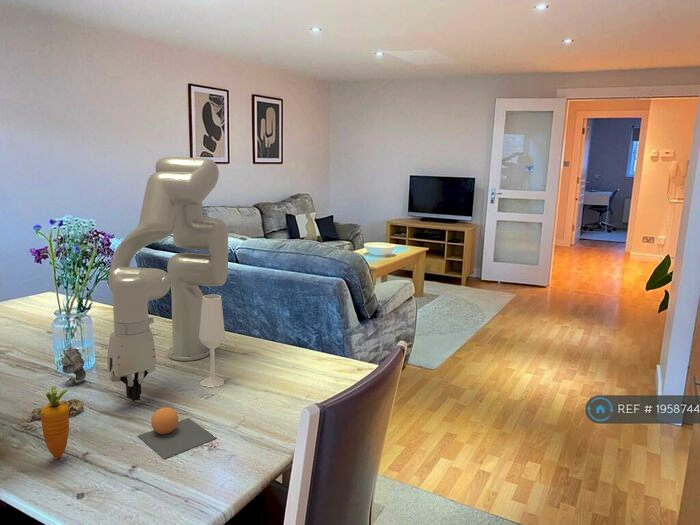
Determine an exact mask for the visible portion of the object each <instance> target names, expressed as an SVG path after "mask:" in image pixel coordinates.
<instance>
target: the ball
mask: <svg viewBox="0 0 700 525" xmlns="http://www.w3.org/2000/svg"><path fill="white" fill-rule="evenodd" d="M178 421H179V416H178V413H177V411H176V410H175V409H173V408H170V407H161V408H159V409H157V410H156V411H155V412H154V413H153V414H152V417H151V421H150V424H151V427H152V429H153V430H155V431H156V432H157V433H159V434H168V433H170V432H172V431H173V430H174V429H175V428H176V426H177V424H178Z"/></svg>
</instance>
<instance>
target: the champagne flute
mask: <svg viewBox="0 0 700 525" xmlns="http://www.w3.org/2000/svg"><path fill="white" fill-rule="evenodd" d="M223 312H224V310H223V302H222V296H221V295H220V294H205V295H203V297H202V309H201V320H200V331H199V339H200V341H201V342H202V343H203V344H204V345H205V346H206V347H207V348H209V349H210V354H209V374H210V375H209V376H207V377H206V378H204V379H202V380H200V382H201V384H202V385H203V386H210V387H211V386H218V385H221V384H223V383H224V380H225V379H224V378H222V377H219V376H217V375H216V374H215V373H216V372H215V368H216V367H215V366H216V365H215V364H216V363H215V358H216V357H215V349H216V348H218V347H219V346H220V345H221V344H222V343H223V342H224V340H225V338H226V333H225V332H226V331H225V322H224V313H223ZM223 379H224V380H223ZM224 384H225V383H224ZM224 384H223V385H224ZM203 386H202V387H203ZM221 386H222V385H221Z"/></svg>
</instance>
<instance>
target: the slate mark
mask: <svg viewBox="0 0 700 525" xmlns="http://www.w3.org/2000/svg"><path fill="white" fill-rule="evenodd" d="M213 435H214V434H212V433H211V432H209V431H208V430H206V429H205V428H204V427H202V426H201V425H199V424H198V423H197V422H195V421H194V420H192V419H191V418H189V417H187V418H184V419H181V420H178V424H177V426H176V428H175V429H174V430H173V431H172V432H170V433H168V434H159V433H157V432H156V431H155V430H154V429H153V430H150V431H147V432H143V433H142V434H139V435H137V437H138V439H139V440H141V441H142V442H144V443H145V444H146V445H147V446H148V447H149V448H151V449H152V450H153V451H154V452H155V453H156V452H157V453H158V454H157V453H156V454H157V455H159V456H160V457H161V458H162V459H163V460H164V459H165V460H167V459H170V458H172V457H174V456H173V455H175V456H176V454H177V455H179V454H178V453H180V454H182V453H185V452H186V450H187V451H189V449H190V450H192V449H195V448H197V447H199V446H198V445H200V446H202V445H204V444H203V443H205V444H207V443H209V441H210V442H212V441H214V440H213V439H215V440H216V438H217V439H218V437H217V436H215V435H214V436H215V437H214V436H213ZM211 440H212V441H211ZM206 442H207V443H206ZM201 444H202V445H201ZM196 446H197V447H196ZM194 447H195V448H194ZM191 448H192V449H191ZM184 451H185V452H184ZM181 452H182V453H181ZM171 456H172V457H171ZM169 457H170V458H169ZM166 458H167V459H166Z"/></svg>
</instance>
